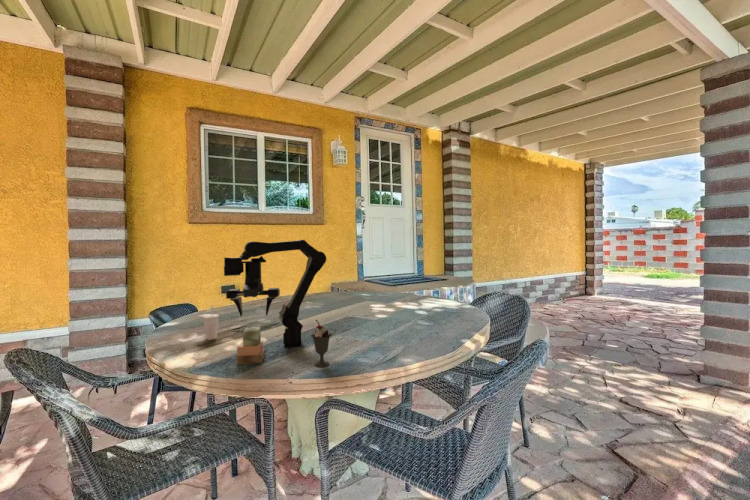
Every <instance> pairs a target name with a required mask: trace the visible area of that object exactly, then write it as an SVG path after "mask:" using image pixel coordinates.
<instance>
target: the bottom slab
mask: <svg viewBox="0 0 750 500" xmlns="http://www.w3.org/2000/svg"><path fill="white" fill-rule="evenodd" d="M265 356H266V348H264V347H263V350H262V351H261V352H260V354H259V355H251V356H236V365H245V364H247V365H249V364H262V363H263V360H264V359H265Z"/></svg>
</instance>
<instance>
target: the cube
mask: <svg viewBox="0 0 750 500" xmlns="http://www.w3.org/2000/svg"><path fill="white" fill-rule="evenodd" d="M261 332H262V331H261V327H260V326H258V327H257V326H256V327H245V328H244V330H243V331H242V342H243V346H255V345H259V343H260V342H261V341H262V340H261V339H262V337H261V335H262V334H261Z"/></svg>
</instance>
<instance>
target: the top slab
mask: <svg viewBox="0 0 750 500" xmlns="http://www.w3.org/2000/svg"><path fill="white" fill-rule="evenodd" d="M263 348H264V341H263V340H261V342H260V343H259V345H255V346H243V341H242V342H241V343H240V344H239V345H237V347H236V354H237V356H251V355H259V354H260V352H261V351H262V350H263ZM237 356H236V357H237Z"/></svg>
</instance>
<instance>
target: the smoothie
mask: <svg viewBox="0 0 750 500" xmlns="http://www.w3.org/2000/svg"><path fill="white" fill-rule="evenodd" d="M210 309H211V311H210V313H211V314H205V315H203V316H202V320H203V324H204V331H205V336H206V340H208V341H209V340H210V341H211V340H212V341H213V340H216V339H217V337H218V336H217V335H218V325H219V318H220V315H219V314H217V313H215V314H214V313H213V312H214V309H213V305H210Z"/></svg>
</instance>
